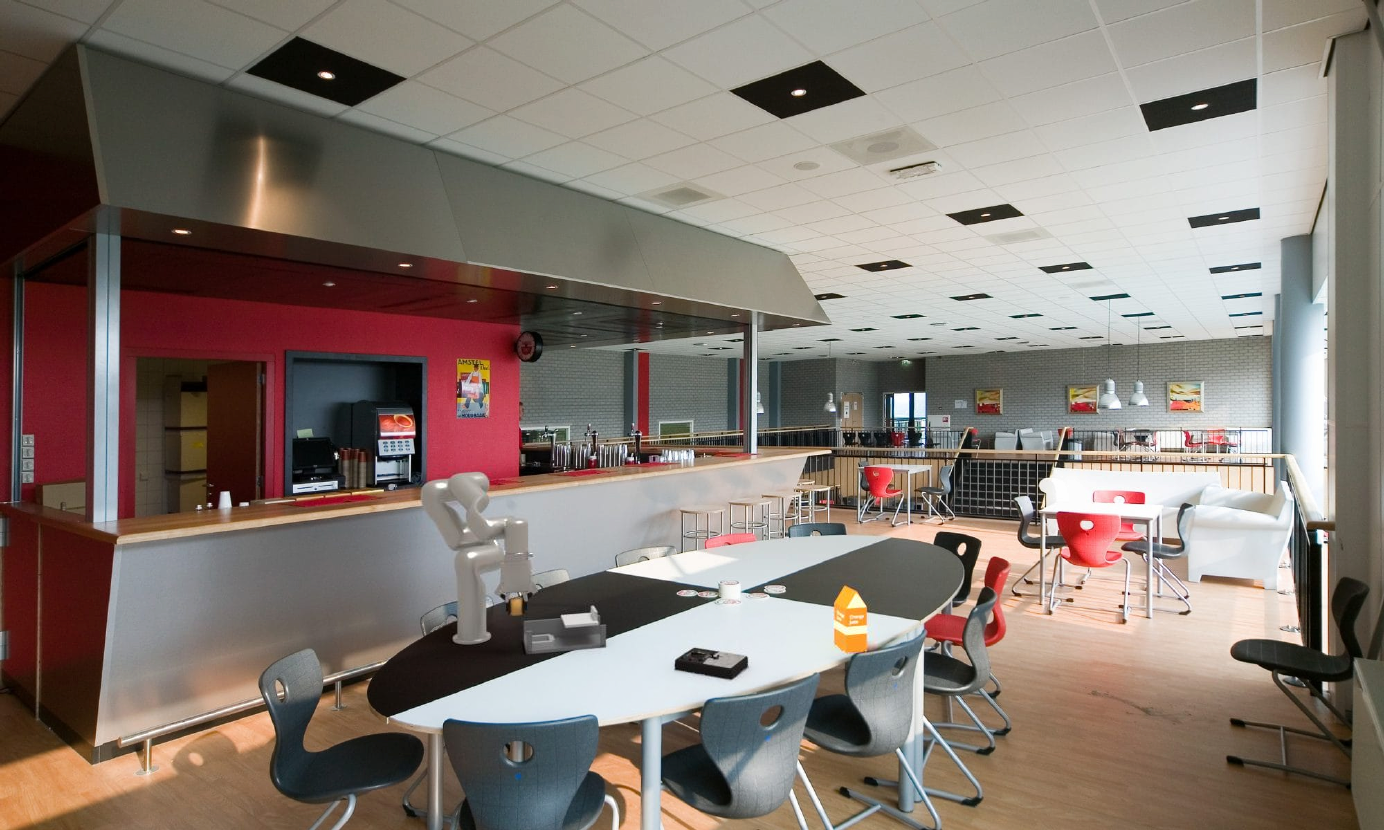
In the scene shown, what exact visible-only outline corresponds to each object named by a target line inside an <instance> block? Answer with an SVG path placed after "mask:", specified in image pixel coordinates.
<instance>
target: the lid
mask: <svg viewBox="0 0 1384 830" xmlns="http://www.w3.org/2000/svg"><path fill="white" fill-rule="evenodd" d="M597 615H598V610H597V608H596V607H595V606H594V605H591V606H590V612H583V613H573V614H571V613H570V614H561V615H560V618H561V619H562V621H563V623H564V626H565V628H569V627H581V626H593V625H599V623H598V621H597Z"/></svg>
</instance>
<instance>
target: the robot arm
mask: <svg viewBox="0 0 1384 830" xmlns="http://www.w3.org/2000/svg"><path fill="white" fill-rule="evenodd" d="M489 489H490V480H489V478H488V476H487V475H486V474H485V473H483V472H480V471H473V472H460V473H456V474H454V475H452V476H450V478H443V479H442V478H441V479H440V478H439V479H433V480H431V481H428V482H426V483H424V485H423V486H422V488H421V490H420V502H421V505H422V508H423V510H424V511H425V514H427V516H428V518H430V519H431V520H432V522H433V523H434V524H435V527H436V529H438V532H439V533H440V535H441V536H442V538H443V540H444V542H445V545H447V547H448V548H449V550H451V551H452V552H457V553H456V555H455V556H454V559H453V565H454V570H455V576H456V585H457V586H456V587H457V588H456V590H457V592H456V593H457V595H456V597H457V610H456V611H457V613H456V614H457V615H456V616H457V619H456V620H457V633H456V634H455V635H453V636H452V641H453V642H454V643H455V644H458V645H476V644H481V643H484V642H487V641H489V640H490V639H491V638H492V635H491V633H490V632H489V631H487V587H486V583H485V581H484V580H483V579H482V576H481V575H482V574H483V575H484V574H487V573H492V572H495V571H498V570H500V579H499V580H500V582H499V583H498V585H497V586H496V588H495V590H494V595H496V596H497V597H500V598H501V599H502V600H503V601H504V602H505V612H507V615H508V616H509V615H510V598H511V596H510V595H511V594H515V593H522V596H523V597H522V598H523V614H522V615H525V614H526V611H528V601H529V599H530V598H532V597H533V595H535V594H536V593H538V591H539V588H538V587H537V585H536V584H535V582H534V581H533V570H532V569H533V568H532V562H531V560H530V558H533V556H534V555H533V552H529V522H528V520H526V519H525V518H519V517H518V518H517V517H515V516H512V515H501V516H495V517H492V516H491V517H487V518H486V517H484V515H482V513H483V512H484V511H485V510H486V509H487V508H488V506H489V504H490V496H489V495H488V493H487V492H489ZM452 502H453V503H455V502H459V504H460V505H461V506H462V507H464V509H465V510H466V512H465V513H466V514H465V519H466V522H465V521H464V520H463V519H462V517H461V515H460V514H459V513H458V511H457V510H456V509H454V508H453V507H451V505H448V504H446V503H452ZM498 540H499V541H500V540H504V541H503V542H504V545H503V546H504V550H503V548H502V546H501V544H500V543H499V541H498ZM510 616H511V615H510Z"/></svg>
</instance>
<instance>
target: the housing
mask: <svg viewBox="0 0 1384 830" xmlns="http://www.w3.org/2000/svg"><path fill="white" fill-rule="evenodd" d="M597 621H598V623H599V625H593V626H581V627H569V628H565V626H564V623H563V621H562V619H561V617H560V618H548V619H536V620H535V619H534V620H523V644H524V649H525V654H526V655H533V654H546V653H555V652H565V651H578V650H588V649H589V650H590V649H601V648H607V624H601V615H599V614H597Z"/></svg>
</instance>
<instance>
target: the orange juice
mask: <svg viewBox="0 0 1384 830" xmlns="http://www.w3.org/2000/svg"><path fill="white" fill-rule="evenodd" d="M833 605H834V606H833V614H834V616H833V641H834V642H833V645H834V644H835V645H837V646H838V647H839V648H840V649H839V648H838V647H837V648H838V649H839V650H841V651H842V650H844V651H845V652H853V653H862V652H863V651H865V652H867V651H868V650H867V649H868V647H867V646H868V641H867V640H868V639H867V638H868V607H867V605H866V603H865V602H864V600H863V599H862V597H861V596H860V594H859V593H858V591H857V590H855V589H853V588H850V587H848V586H847V585H844V586H843V588H842V589H841V591H840V593H839V594H838V596H837V597H836V599H835V601H834V603H833ZM835 645H834V646H835ZM845 652H844V653H845Z"/></svg>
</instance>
